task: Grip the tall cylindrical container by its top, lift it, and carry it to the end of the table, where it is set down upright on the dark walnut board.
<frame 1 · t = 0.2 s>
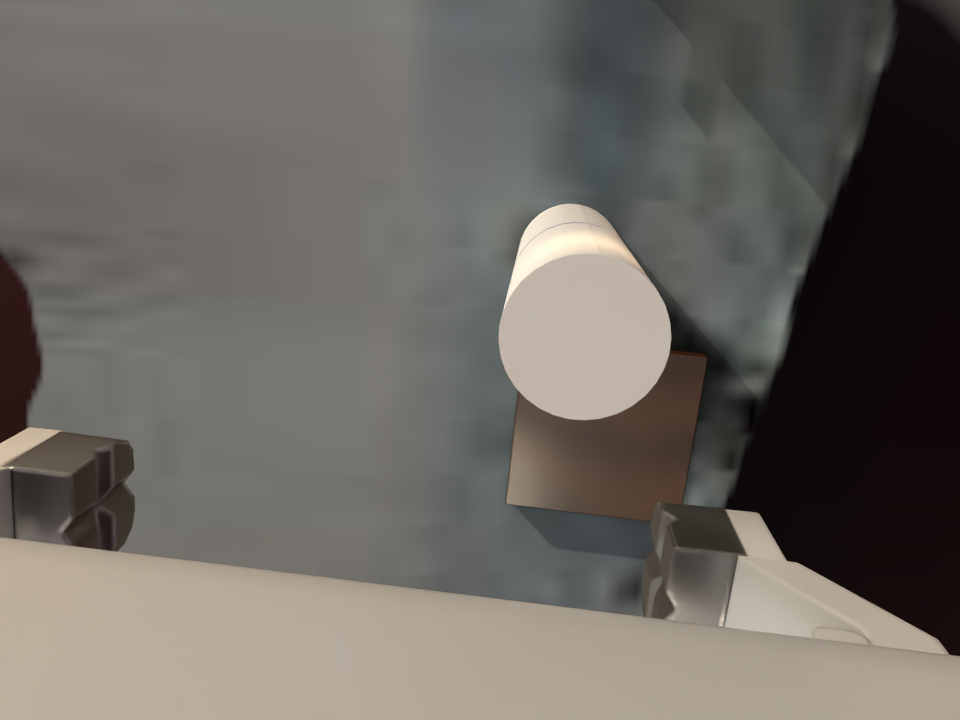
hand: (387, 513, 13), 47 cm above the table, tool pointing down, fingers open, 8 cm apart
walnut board: (602, 428, 62), on the table
cylindrical container: (569, 254, 59), on the table
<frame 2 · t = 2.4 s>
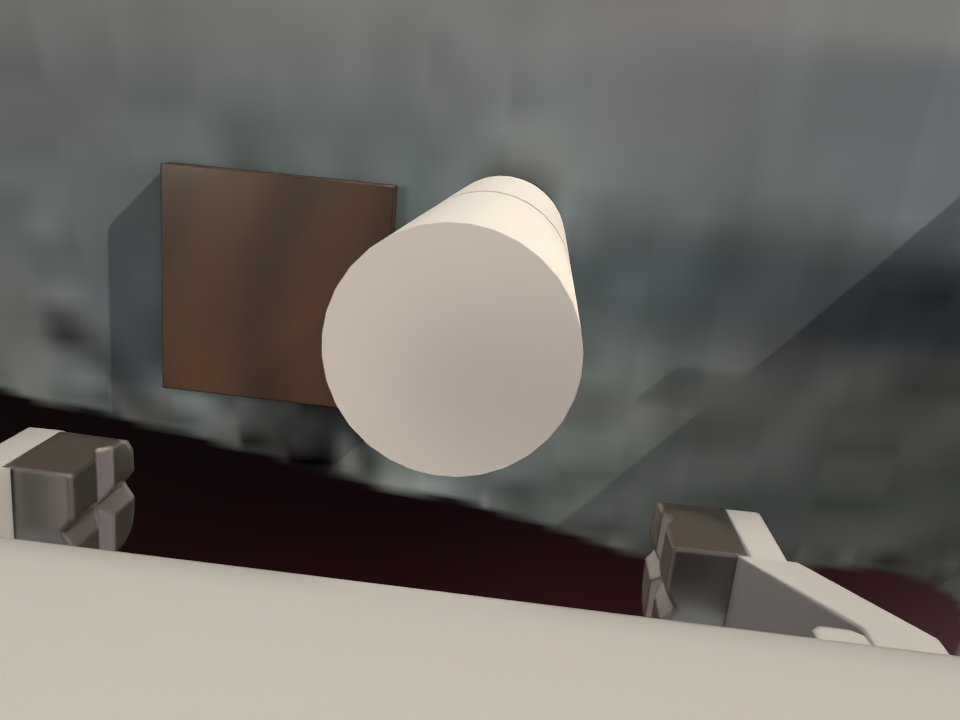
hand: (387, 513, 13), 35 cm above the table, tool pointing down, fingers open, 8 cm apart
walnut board: (279, 287, 48), on the table
cylindrical container: (501, 240, 47), on the table
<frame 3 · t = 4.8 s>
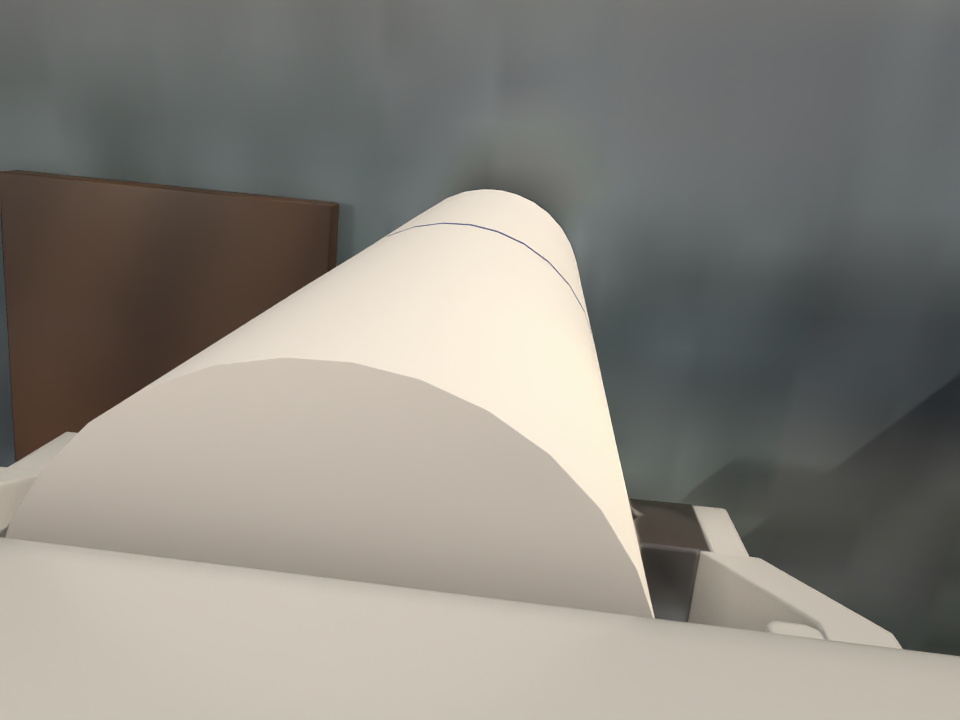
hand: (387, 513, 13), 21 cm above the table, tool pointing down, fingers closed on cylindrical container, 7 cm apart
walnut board: (177, 345, 35), on the table
cylindrical container: (486, 281, 33), on the table, touching gripper
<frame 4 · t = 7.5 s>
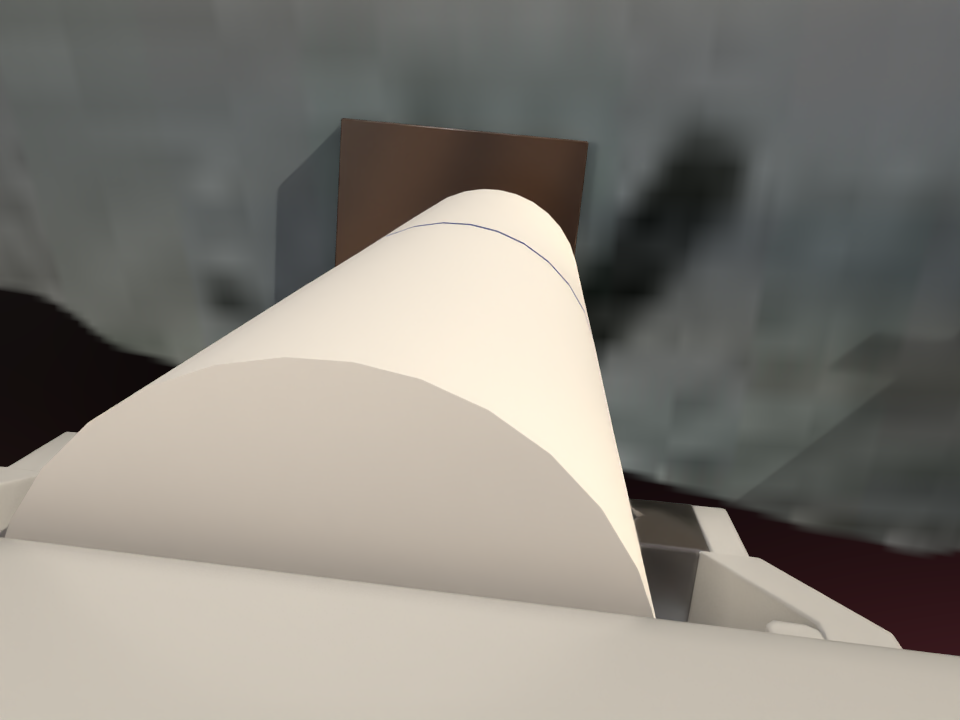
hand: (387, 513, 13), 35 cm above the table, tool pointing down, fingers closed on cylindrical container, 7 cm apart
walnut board: (456, 250, 47), on the table
cylindrical container: (486, 280, 33), point 14 cm above the table, touching gripper
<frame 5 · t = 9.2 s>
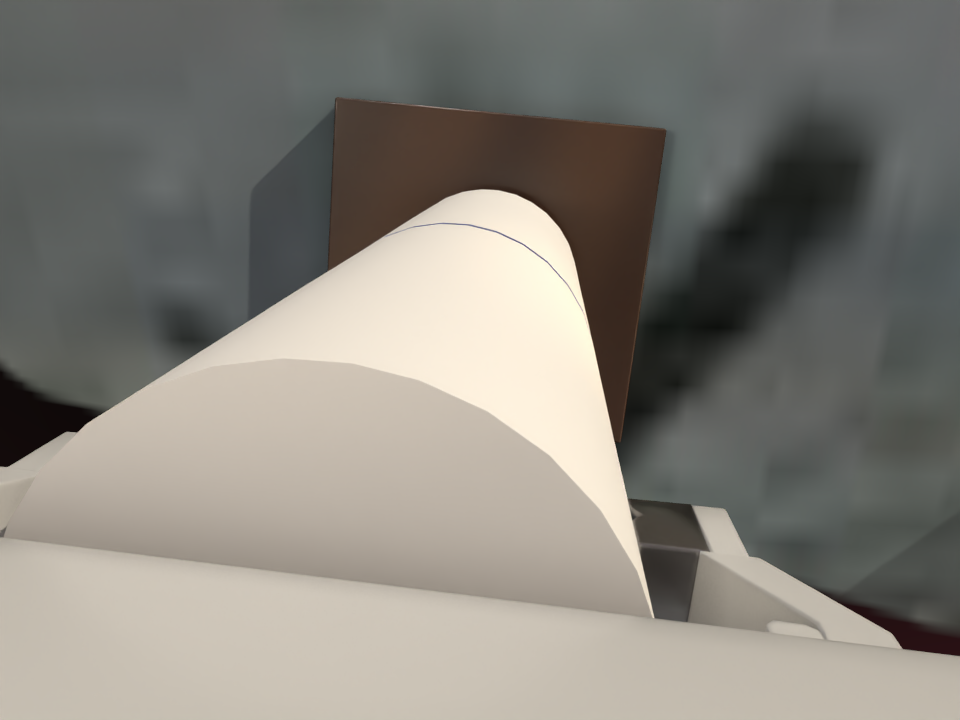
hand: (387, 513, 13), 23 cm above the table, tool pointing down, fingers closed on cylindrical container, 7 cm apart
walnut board: (485, 272, 35), on the table
cylindrical container: (485, 281, 33), point 3 cm above the table, touching gripper
when the fingers open (22 cm above the table, at t = 10.4 s): cylindrical container stays where it is, resting on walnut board.
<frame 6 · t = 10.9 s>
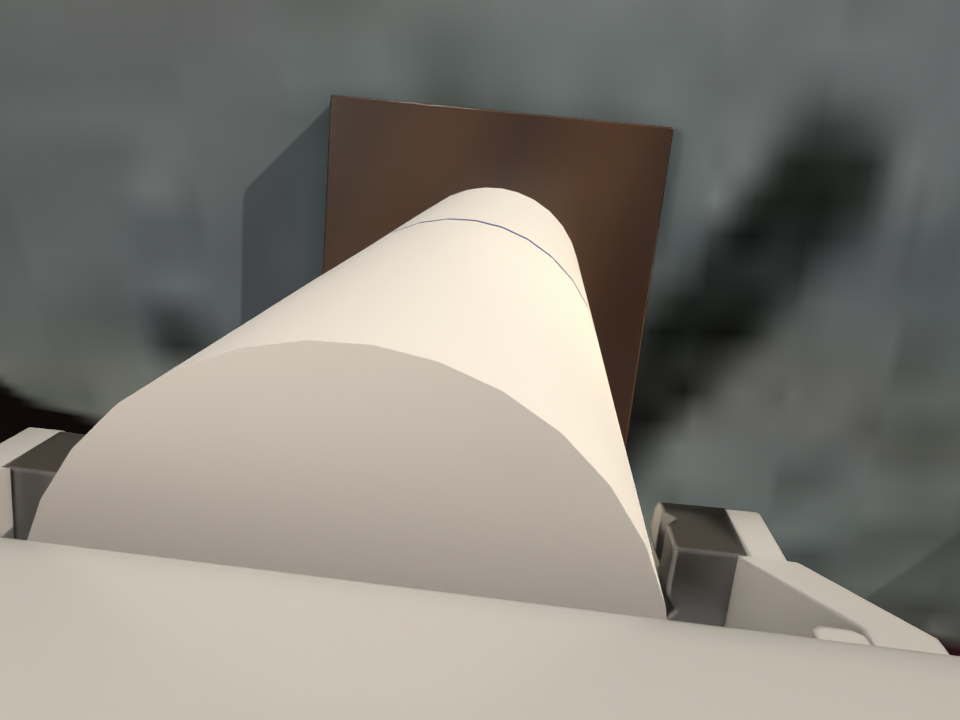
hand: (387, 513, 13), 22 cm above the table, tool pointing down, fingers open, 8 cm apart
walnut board: (486, 276, 34), on the table
cylindrical container: (488, 278, 33), point 1 cm above the table, touching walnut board
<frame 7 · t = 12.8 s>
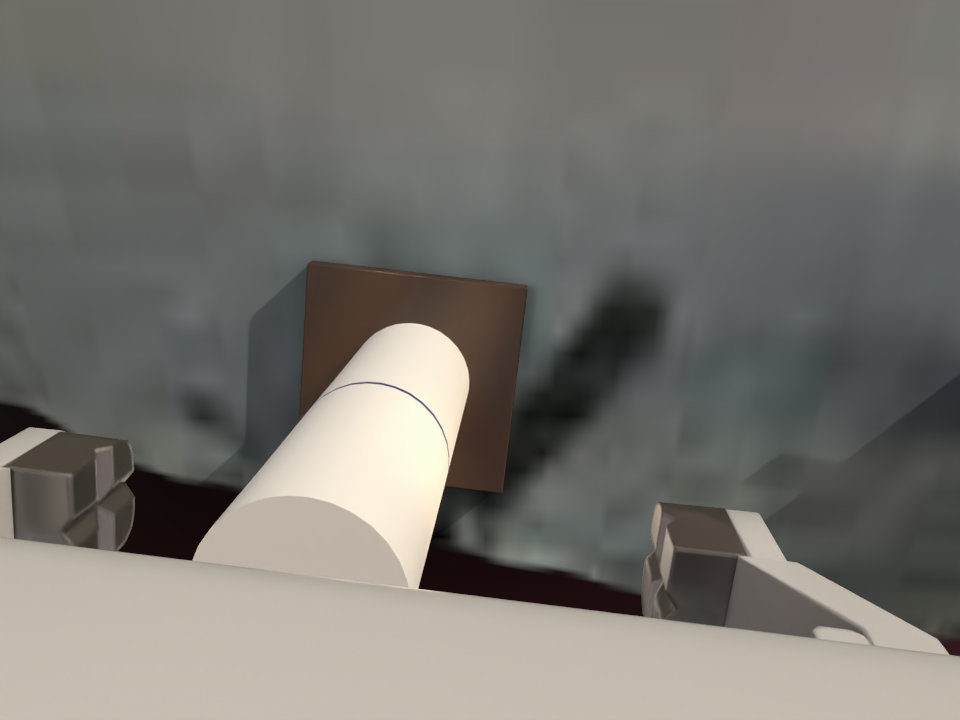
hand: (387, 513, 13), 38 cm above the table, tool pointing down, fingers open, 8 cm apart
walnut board: (410, 376, 52), on the table
cylindrical container: (410, 379, 51), point 1 cm above the table, touching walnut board
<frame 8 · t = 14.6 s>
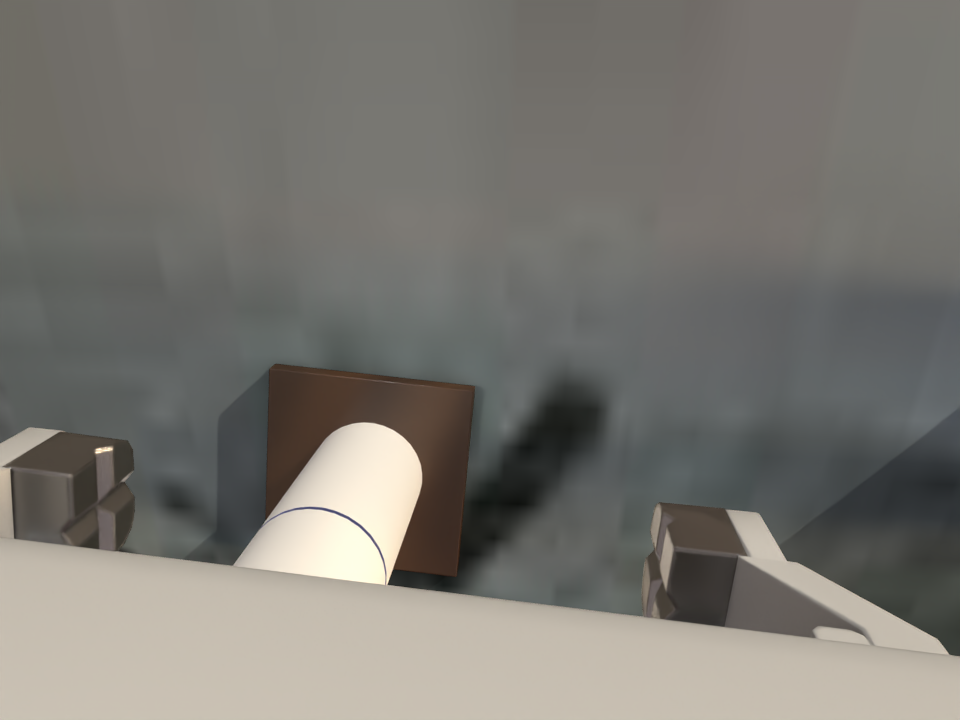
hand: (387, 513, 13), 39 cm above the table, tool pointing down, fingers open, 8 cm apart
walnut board: (368, 468, 55), on the table
cylindrical container: (368, 473, 54), point 1 cm above the table, touching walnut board
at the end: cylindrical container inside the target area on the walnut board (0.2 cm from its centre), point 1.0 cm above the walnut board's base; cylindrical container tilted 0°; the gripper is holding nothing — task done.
